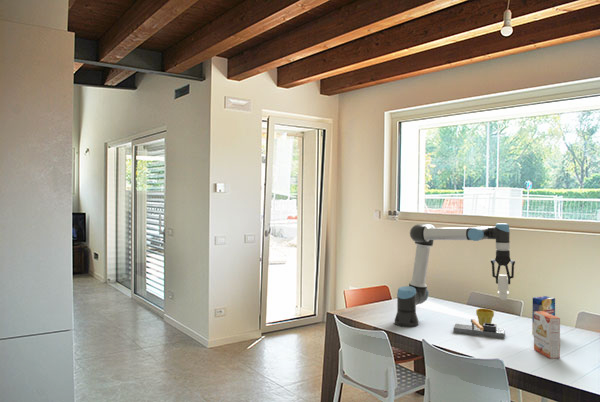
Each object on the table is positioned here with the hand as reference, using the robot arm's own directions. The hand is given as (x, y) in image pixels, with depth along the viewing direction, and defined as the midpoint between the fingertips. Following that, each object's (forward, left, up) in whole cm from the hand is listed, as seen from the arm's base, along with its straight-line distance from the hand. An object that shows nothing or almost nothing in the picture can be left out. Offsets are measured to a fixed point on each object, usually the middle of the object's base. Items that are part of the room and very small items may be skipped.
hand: (503, 289), depth 275 cm
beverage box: (+22, +14, -28) cm, 38 cm away
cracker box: (+22, -24, -28) cm, 43 cm away
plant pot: (-11, +20, -28) cm, 36 cm away
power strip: (-13, 0, -28) cm, 31 cm away
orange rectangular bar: (-13, -11, -24) cm, 30 cm away
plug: (0, -1, -6) cm, 6 cm away
